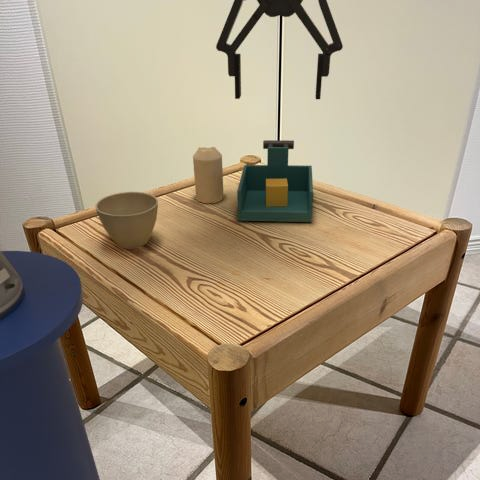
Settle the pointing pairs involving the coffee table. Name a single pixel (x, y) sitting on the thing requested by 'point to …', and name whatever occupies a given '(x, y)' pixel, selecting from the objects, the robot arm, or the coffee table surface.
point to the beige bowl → (128, 217)
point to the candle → (208, 175)
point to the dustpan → (277, 167)
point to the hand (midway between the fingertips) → (277, 97)
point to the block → (276, 192)
